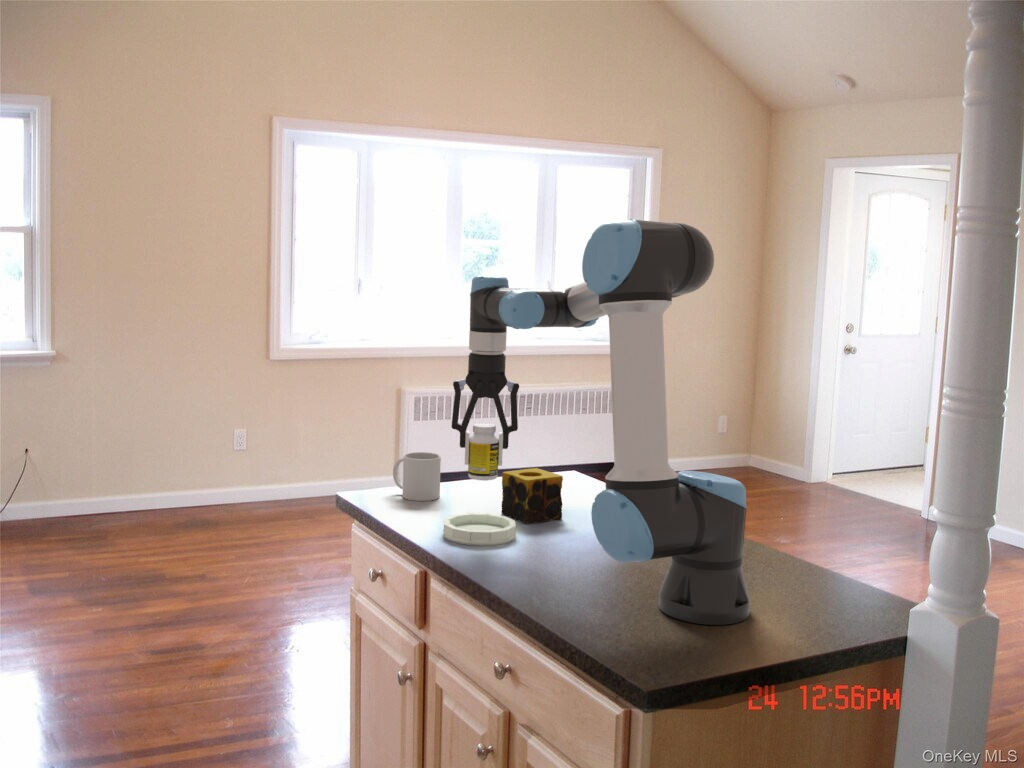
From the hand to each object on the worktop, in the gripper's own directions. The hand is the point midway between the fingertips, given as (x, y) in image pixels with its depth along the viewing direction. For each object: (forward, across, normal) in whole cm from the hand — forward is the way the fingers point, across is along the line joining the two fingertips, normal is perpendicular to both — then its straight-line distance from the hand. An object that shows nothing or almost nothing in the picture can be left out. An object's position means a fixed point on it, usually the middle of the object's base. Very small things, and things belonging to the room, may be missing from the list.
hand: (483, 463), depth 207 cm
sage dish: (+15, 0, 0) cm, 15 cm away
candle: (+16, -12, -16) cm, 25 cm away
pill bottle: (+3, 0, 0) cm, 3 cm away
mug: (+16, +14, -33) cm, 39 cm away
